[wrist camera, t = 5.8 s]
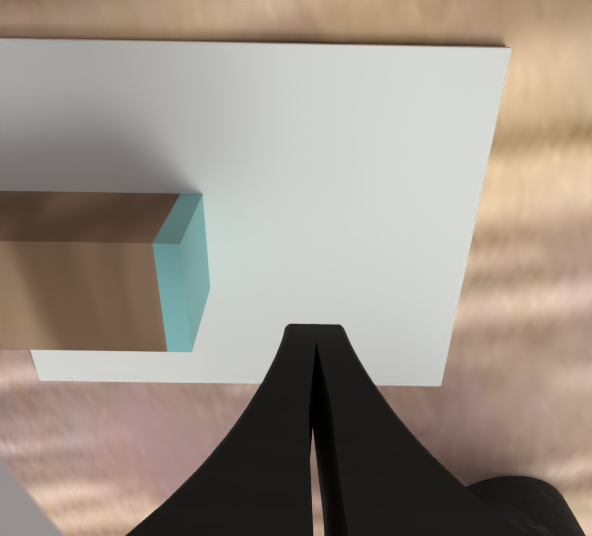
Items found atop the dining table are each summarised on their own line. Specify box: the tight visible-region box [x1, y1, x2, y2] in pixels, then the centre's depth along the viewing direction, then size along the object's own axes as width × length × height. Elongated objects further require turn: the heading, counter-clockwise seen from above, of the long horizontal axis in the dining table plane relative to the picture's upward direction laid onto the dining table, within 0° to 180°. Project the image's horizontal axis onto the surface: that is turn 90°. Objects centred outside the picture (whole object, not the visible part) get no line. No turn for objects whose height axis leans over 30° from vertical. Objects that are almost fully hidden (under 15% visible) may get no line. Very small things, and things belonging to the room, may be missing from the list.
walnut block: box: [0, 191, 210, 352], centre depth 17 cm, size 4×4×9 cm
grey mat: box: [0, 38, 512, 386], centre depth 19 cm, size 18×14×1 cm
